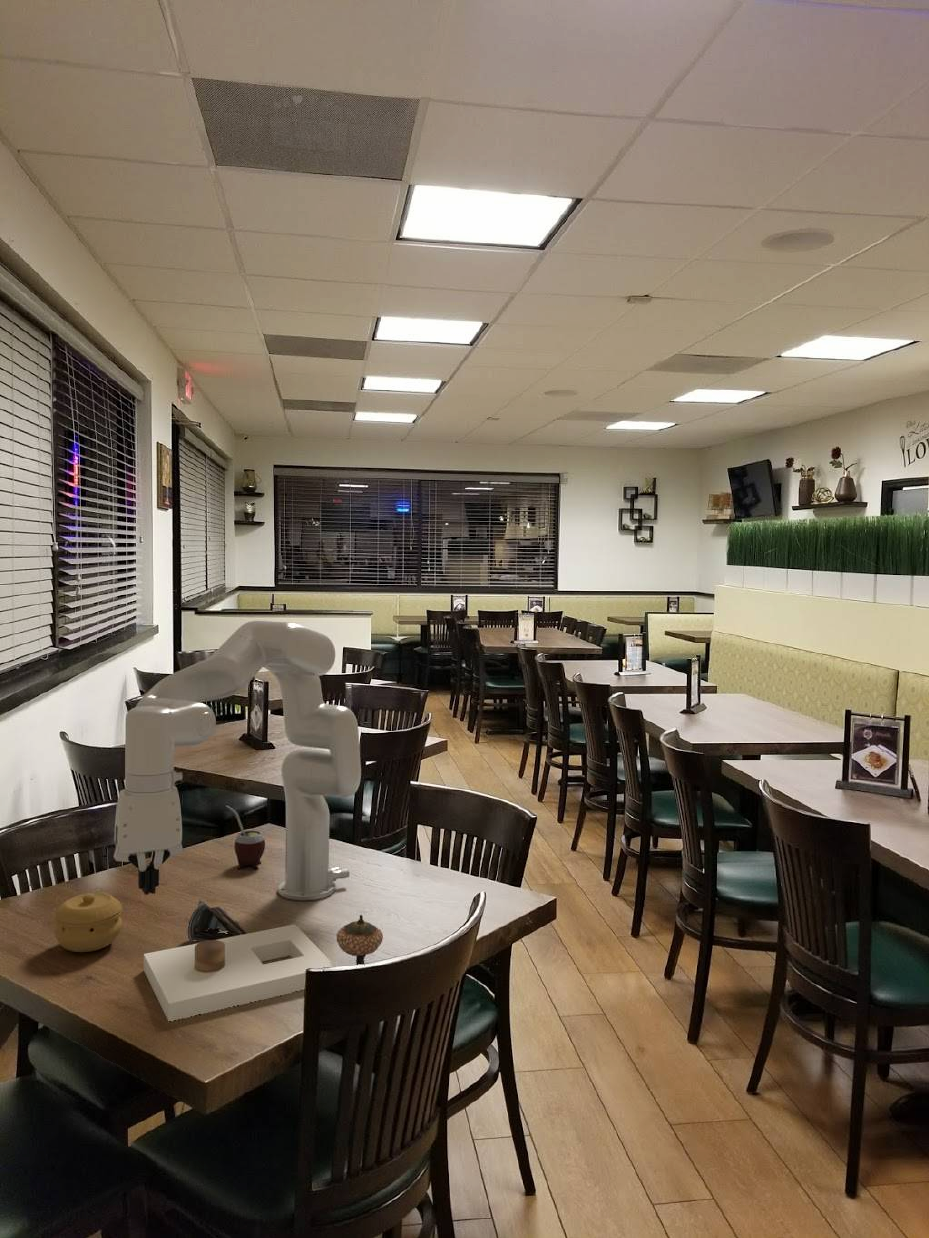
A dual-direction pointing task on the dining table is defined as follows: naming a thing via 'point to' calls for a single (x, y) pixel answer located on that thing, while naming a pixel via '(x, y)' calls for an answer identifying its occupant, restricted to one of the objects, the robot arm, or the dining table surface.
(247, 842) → the mate gourd
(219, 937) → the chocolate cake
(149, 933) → the dining table surface
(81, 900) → the pot
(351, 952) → the acorn
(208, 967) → the brown wooden cylinder
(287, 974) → the plate
